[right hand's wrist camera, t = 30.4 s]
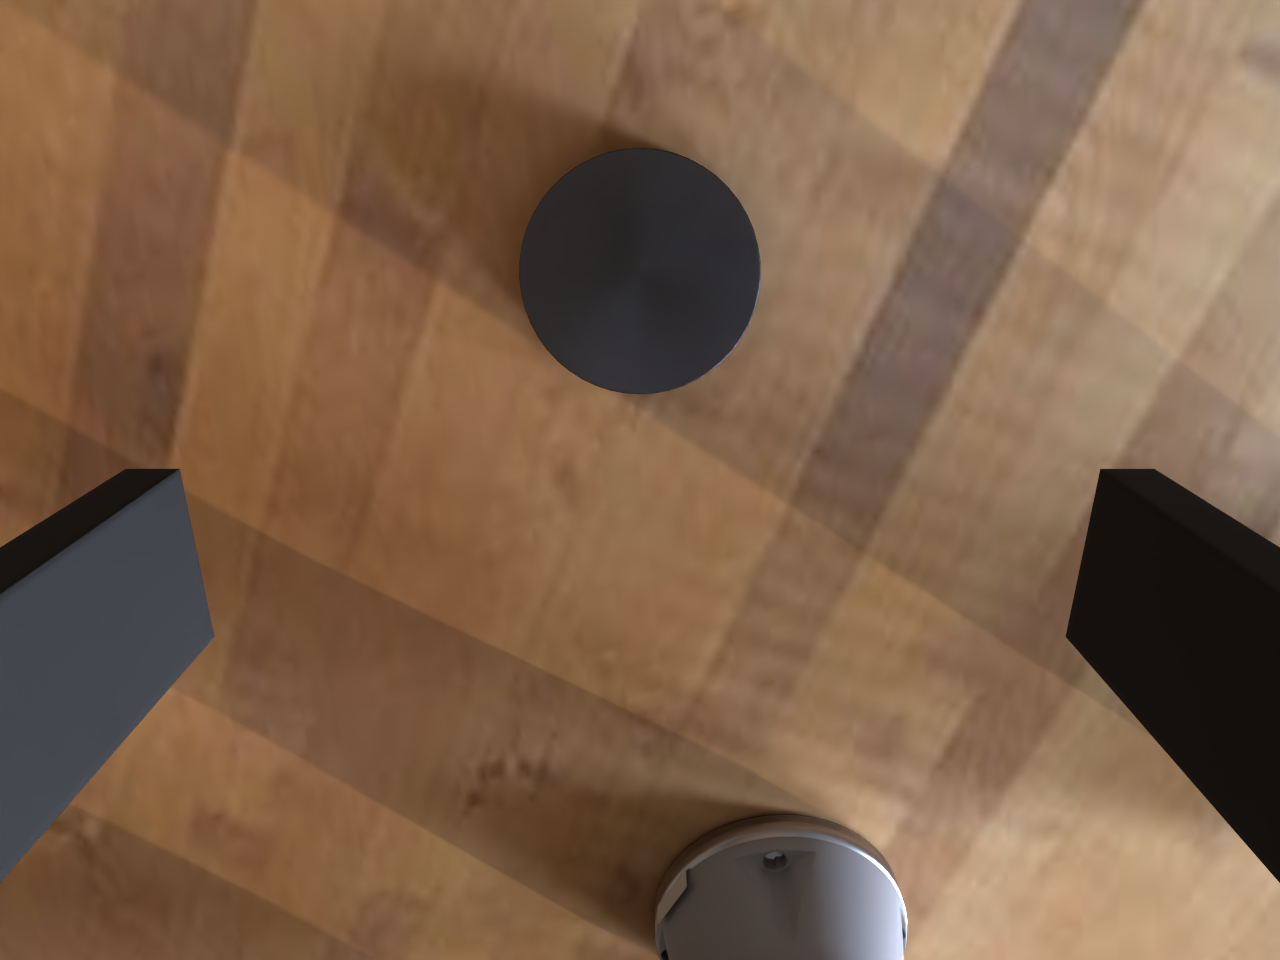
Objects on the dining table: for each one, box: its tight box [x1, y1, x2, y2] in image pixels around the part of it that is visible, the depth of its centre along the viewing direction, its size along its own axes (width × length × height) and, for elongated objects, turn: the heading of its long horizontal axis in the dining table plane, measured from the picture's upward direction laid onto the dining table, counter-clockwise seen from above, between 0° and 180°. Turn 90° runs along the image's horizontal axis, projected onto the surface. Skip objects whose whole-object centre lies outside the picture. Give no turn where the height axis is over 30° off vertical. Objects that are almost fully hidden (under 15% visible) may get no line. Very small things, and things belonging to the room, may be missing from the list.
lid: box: [519, 148, 760, 394], centre depth 39 cm, size 11×11×2 cm
